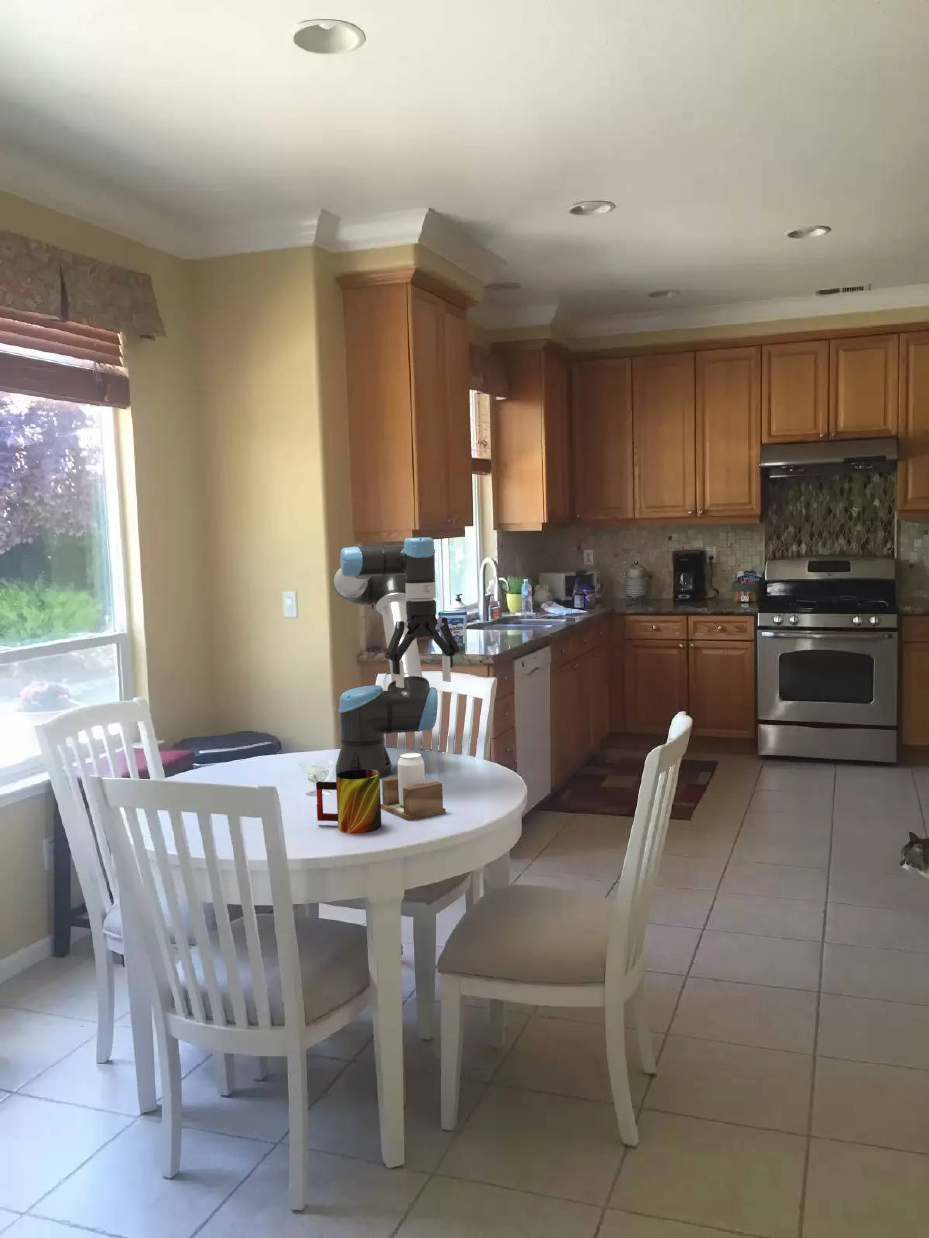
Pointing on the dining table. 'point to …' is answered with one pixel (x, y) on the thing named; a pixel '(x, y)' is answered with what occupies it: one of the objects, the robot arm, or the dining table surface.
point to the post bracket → (412, 799)
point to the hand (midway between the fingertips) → (423, 684)
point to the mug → (353, 801)
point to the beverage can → (410, 772)
